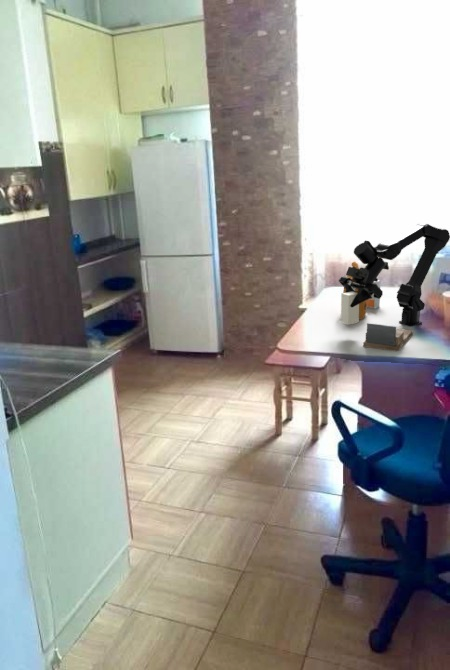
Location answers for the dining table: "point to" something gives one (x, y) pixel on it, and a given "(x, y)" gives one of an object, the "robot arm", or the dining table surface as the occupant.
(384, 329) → the bookend
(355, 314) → the white rectangular block
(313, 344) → the dining table surface
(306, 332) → the dining table surface
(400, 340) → the shelf plank
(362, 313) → the coffee package
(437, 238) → the robot arm
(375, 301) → the skincare box
